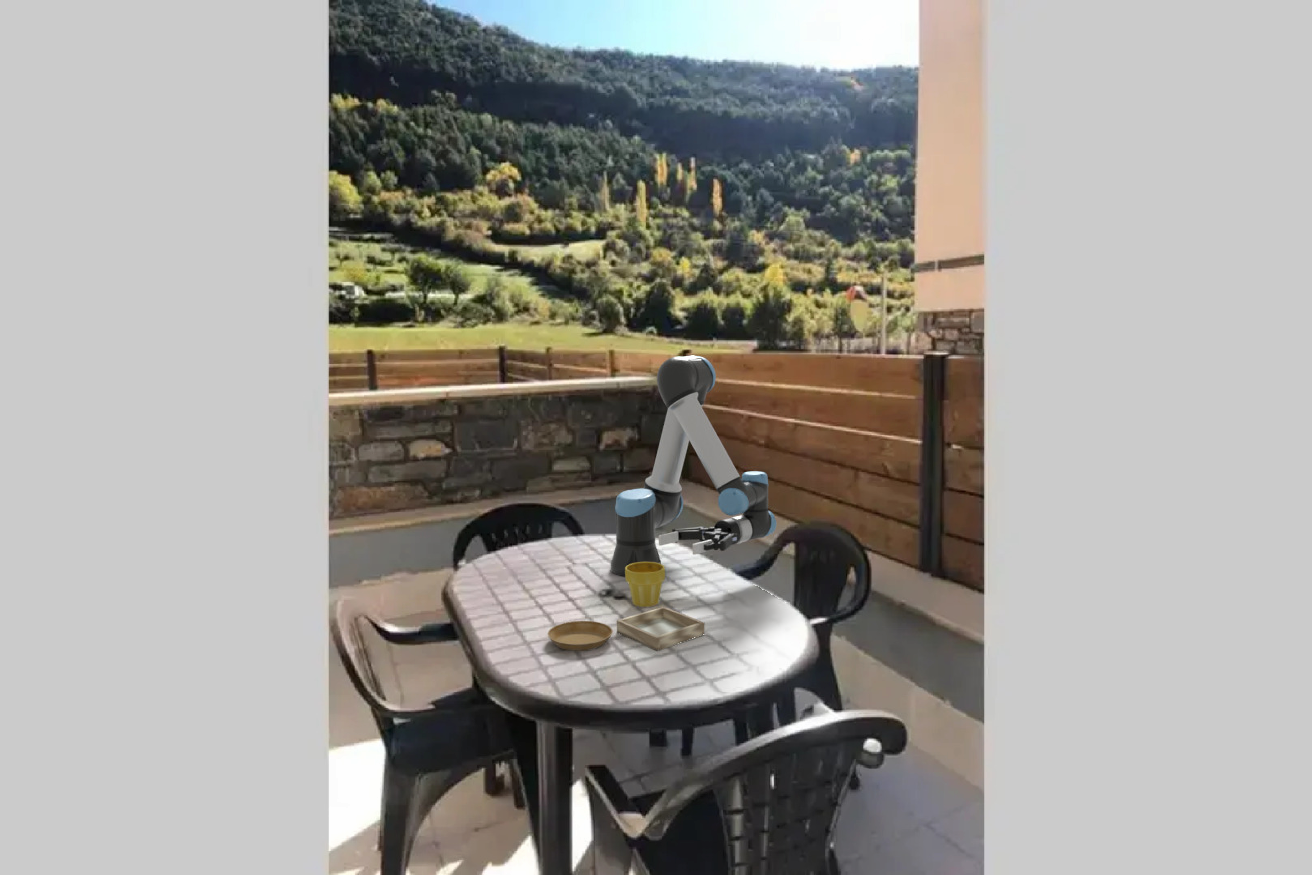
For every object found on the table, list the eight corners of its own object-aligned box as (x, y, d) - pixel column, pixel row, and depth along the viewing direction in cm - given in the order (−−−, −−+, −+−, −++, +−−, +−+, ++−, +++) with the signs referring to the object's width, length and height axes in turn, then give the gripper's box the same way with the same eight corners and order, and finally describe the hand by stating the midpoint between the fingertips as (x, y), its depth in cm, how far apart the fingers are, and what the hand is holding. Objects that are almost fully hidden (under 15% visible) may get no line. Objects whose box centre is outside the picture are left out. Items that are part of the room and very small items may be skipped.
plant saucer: (553, 630, 191) (553, 620, 190) (615, 630, 190) (615, 620, 190) (542, 655, 176) (542, 643, 176) (609, 655, 175) (609, 644, 175)
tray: (663, 618, 198) (663, 606, 197) (704, 634, 187) (704, 622, 186) (616, 632, 188) (616, 620, 188) (656, 651, 177) (656, 638, 177)
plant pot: (621, 608, 205) (621, 571, 203) (629, 595, 215) (629, 560, 213) (661, 610, 203) (661, 573, 202) (667, 597, 213) (667, 562, 212)
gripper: (765, 551, 217) (709, 567, 204) (702, 536, 236) (646, 550, 223) (764, 524, 216) (708, 538, 203) (701, 511, 235) (645, 523, 222)
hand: (676, 544), depth 213 cm, fingers open, 13 cm apart
